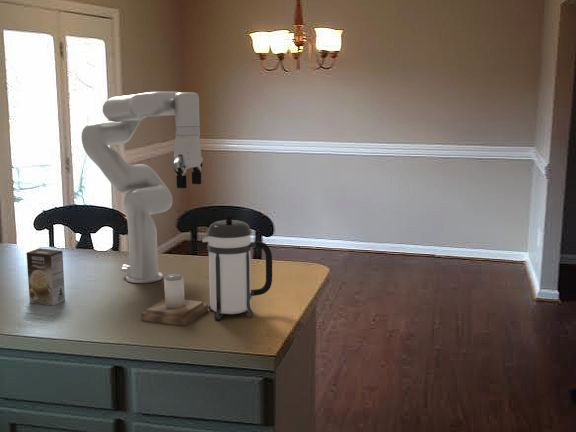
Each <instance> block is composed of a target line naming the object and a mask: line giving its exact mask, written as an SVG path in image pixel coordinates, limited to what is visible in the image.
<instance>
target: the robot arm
mask: <svg viewBox="0 0 576 432" xmlns="http://www.w3.org/2000/svg"><path fill="white" fill-rule="evenodd" d="M102 113H103V115H104V117H105V118H106V119H107V120H108V121H107V120H105V121H95V122H91V123H88V124H87V125H85V126H84V128H83V129H82V131H81V142H82V143H81V144H82V147H83V149H84V151H85V153H86V155H87V156H88V158H89V159H91V161H92V162H93V163H94V164H95V165H96V166H97V167H98V168H99V169H100V171H101V172H102V174H104V177H106V179H107V180H108V181H109V183H110V184H111V186H112V187H113V188H114V189H115V190H116V191H117V192H118V193H120V194H125V196H124V199H123V207H124V212H125V214H126V220H127V230H128V231H127V233H128V235H127V236H128V249H129V250H128V255H129V256H128V257H129V258H128V259H129V265H128V264H123V265H122V266H121V269H120V270H121V272H124V273H126V275H125V280H126V281H127V282H129V283H132V284H133V283H134V284H149V283H155V282H159V281H160V280H162V279H164V274H163V273H162V272H160V271H159V260H158V235H157V226H156V223H155V221H154V219H153V217H152V216H151V215H157V214H161V213H165V212H167V211H169V210H170V209H171V208H172V205H173V195H172V193H171V190H170V189H169V188H168V186H167V185H166V184H165V182H164V181H163V180H162V179H161V178H160V176H159V175H158V173H157V172H156V171H155V170H154V169H153V168H152V167H150V166H149V165H147V164H146V163H145V164H144V163H139V164H129V163H128V162H127V161H126V160H125V159H124V157H123V156H122V155H121V154H120V153H119V152H117V151H116V150H115V149H113V148H111V147H109V146H118V145H119V146H120V145H124V144H126V143H128V142H129V141H130V140H131V139H132V137H133V135H134V133H135V132H136V131H137V128H138V126H139V125H140V123H141V122H142V121H143V120H144V119H146V118H147V117H165V116H174V117H175V119H174V120H175V123H174V125H175V139H174V148H173V167H174V173H175V176H176V188H177V189H187V185H188V183H187V175H186V173H187V170H192V171H191V184H192V185H202V171H203V160H204V157H203V156H202V150H201V149H202V148H201V141H200V137H201V131H200V130H201V129H200V128H201V127H200V125H201V124H200V97H199V94H198V93H197V92H193V91H191V92H189V91H186V92H185V91H184V92H183V91H182V92H180V91H150V92H149V91H148V92H142V93H136V94H135V93H134V94H129V95H121V96H113V97H110V98H108V99H107V100H106V101H105V102H103V105H102Z"/></svg>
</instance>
